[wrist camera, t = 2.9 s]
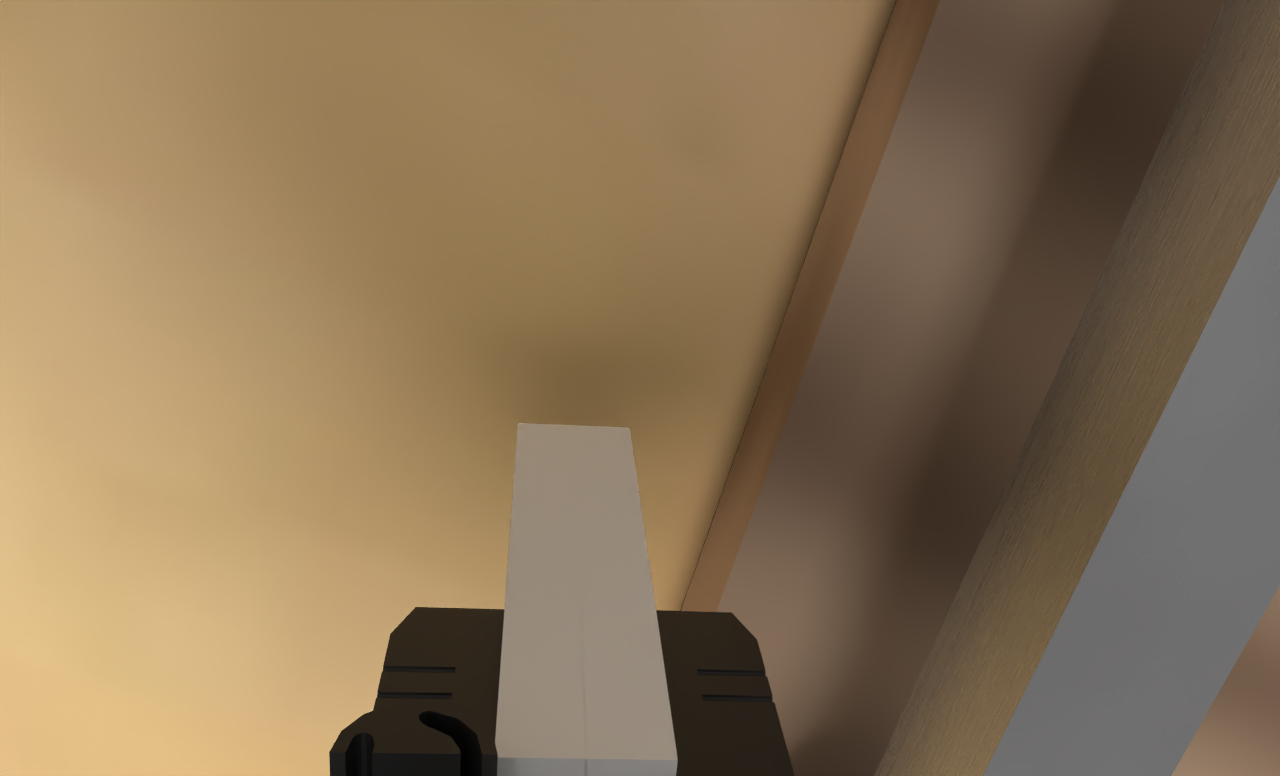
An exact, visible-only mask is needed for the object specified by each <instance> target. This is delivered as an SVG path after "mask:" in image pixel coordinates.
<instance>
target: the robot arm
mask: <svg viewBox="0 0 1280 776" xmlns="http://www.w3.org/2000/svg"><path fill="white" fill-rule="evenodd" d="M772 698H773V695H772V692H771V688H770V684H769V681H768V677H766V670H765V666H764V663H763V659H762V655H761V652H760V648H759V645H758V641H757V639H756V638H755V637H754V636H753V635H752V634H751V633H750V631H749V630H748V629H747V628H746V627H745V626H744V625H743V624H742V623H741V622H740V621H739V620H738V619H737V618H736V617H735V615H734V614H733V613H732V612H698V611H660V610H656V606H655V599H654V592H653V585H652V578H651V571H650V564H649V557H648V550H647V543H646V536H645V529H644V522H643V516H642V509H641V502H640V495H639V488H638V481H637V474H636V467H635V460H634V453H633V446H632V439H631V432H630V427H606V426H582V425H558V424H534V423H518V427H517V441H516V455H515V469H514V483H513V497H512V511H511V525H510V539H509V553H508V567H507V581H506V595H505V609H466V608H428V607H415V609H414V610H413V611H412V612H411V613H410V614H409V615H408V616H407V617H406V618H405V619H404V620H403V621H402V622H401V623H400V624H399V626H398V627H397V628H396V629H395V630H394V631H393V632H392V633H391V634H390V639H389V643H388V648H387V652H386V656H385V661H384V665H383V672H382V674H381V679H380V683H379V688H378V695H377V698H376V701H375V705H374V710H373V711H372V712H369V713H366V714H364V715H362V716H361V717H360V718H358V719H357V720H356V721H354V722H353V723H352V724H350V725H349V726H348V727H346V728H345V729H344V730H342V731H341V733H340V735H339V736H338V738H337V740H336V742H335V743H334V745H333V747H332V749H331V751H330V752H329V753H330V776H795V775H794V771H793V768H792V764H791V760H790V757H789V753H788V750H787V746H786V742H785V739H784V735H783V731H782V728H781V724H780V721H779V717H778V713H777V710H776V706H775V702H773V699H772Z"/></svg>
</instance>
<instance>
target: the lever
mask: <svg viewBox="0 0 1280 776" xmlns="http://www.w3.org/2000/svg"><path fill="white" fill-rule="evenodd" d="M1279 586H1280V0H1224V2H1223V5H1222V7H1221V9H1220V11H1219V13H1218V16H1217V18H1216V20H1215V22H1214V25H1213V27H1212V29H1211V31H1210V33H1209V36H1208V38H1207V40H1206V42H1205V44H1204V47H1203V49H1202V51H1201V53H1200V56H1199V58H1198V60H1197V62H1196V64H1195V67H1194V69H1193V71H1192V73H1191V75H1190V78H1189V80H1188V82H1187V84H1186V86H1185V89H1184V91H1183V93H1182V95H1181V98H1180V100H1179V102H1178V104H1177V106H1176V109H1175V111H1174V113H1173V115H1172V117H1171V120H1170V122H1169V124H1168V126H1167V129H1166V131H1165V133H1164V135H1163V137H1162V140H1161V142H1160V144H1159V146H1158V148H1157V151H1156V153H1155V155H1154V157H1153V160H1152V162H1151V164H1150V166H1149V168H1148V171H1147V173H1146V175H1145V177H1144V179H1143V182H1142V184H1141V186H1140V188H1139V190H1138V193H1137V195H1136V197H1135V199H1134V202H1133V204H1132V206H1131V208H1130V210H1129V213H1128V215H1127V217H1126V219H1125V221H1124V224H1123V226H1122V228H1121V230H1120V233H1119V235H1118V237H1117V239H1116V241H1115V244H1114V246H1113V248H1112V250H1111V252H1110V255H1109V257H1108V259H1107V261H1106V264H1105V266H1104V268H1103V270H1102V272H1101V275H1100V277H1099V279H1098V281H1097V283H1096V286H1095V288H1094V290H1093V292H1092V294H1091V297H1090V299H1089V301H1088V303H1087V306H1086V308H1085V310H1084V312H1083V314H1082V317H1081V319H1080V321H1079V323H1078V325H1077V328H1076V330H1075V332H1074V334H1073V337H1072V339H1071V341H1070V343H1069V345H1068V348H1067V350H1066V352H1065V354H1064V356H1063V359H1062V361H1061V363H1060V365H1059V368H1058V370H1057V372H1056V374H1055V376H1054V379H1053V381H1052V383H1051V385H1050V387H1049V390H1048V392H1047V394H1046V396H1045V398H1044V401H1043V403H1042V405H1041V407H1040V410H1039V412H1038V414H1037V416H1036V418H1035V421H1034V423H1033V425H1032V427H1031V429H1030V432H1029V434H1028V436H1027V438H1026V441H1025V443H1024V445H1023V447H1022V449H1021V452H1020V454H1019V456H1018V458H1017V460H1016V463H1015V465H1014V467H1013V469H1012V472H1011V474H1010V476H1009V478H1008V480H1007V483H1006V485H1005V487H1004V489H1003V491H1002V494H1001V496H1000V498H999V500H998V502H997V505H996V507H995V509H994V511H993V514H992V516H991V518H990V520H989V522H988V525H987V527H986V529H985V531H984V533H983V536H982V538H981V540H980V542H979V545H978V547H977V549H976V551H975V553H974V556H973V558H972V560H971V562H970V564H969V567H968V569H967V571H966V573H965V576H964V578H963V580H962V582H961V584H960V587H959V589H958V591H957V593H956V595H955V598H954V600H953V602H952V604H951V606H950V609H949V611H948V613H947V615H946V618H945V620H944V622H943V624H942V626H941V629H940V631H939V633H938V635H937V637H936V640H935V642H934V644H933V646H932V649H931V651H930V653H929V655H928V657H927V660H926V662H925V664H924V666H923V668H922V671H921V673H920V675H919V677H918V680H917V682H916V684H915V686H914V688H913V691H912V693H911V695H910V697H909V699H908V702H907V704H906V706H905V708H904V710H903V713H902V715H901V717H900V719H899V722H898V724H897V726H896V728H895V730H894V733H893V735H892V737H891V739H890V741H889V744H888V746H887V748H886V750H885V753H884V755H883V757H882V759H881V761H880V764H879V766H878V768H877V770H876V772H875V775H874V776H1172V774H1173V772H1174V770H1175V769H1176V767H1177V765H1178V763H1179V762H1180V760H1181V758H1182V756H1183V755H1184V753H1185V751H1186V749H1187V748H1188V746H1189V744H1190V742H1191V741H1192V739H1193V737H1194V735H1195V733H1196V732H1197V730H1198V728H1199V726H1200V725H1201V723H1202V721H1203V719H1204V718H1205V716H1206V714H1207V712H1208V711H1209V709H1210V707H1211V705H1212V704H1213V702H1214V700H1215V698H1216V697H1217V695H1218V693H1219V691H1220V690H1221V688H1222V686H1223V684H1224V682H1225V681H1226V679H1227V677H1228V675H1229V674H1230V672H1231V670H1232V668H1233V667H1234V665H1235V663H1236V661H1237V660H1238V658H1239V656H1240V654H1241V653H1242V651H1243V649H1244V647H1245V646H1246V644H1247V642H1248V640H1249V639H1250V637H1251V635H1252V633H1253V631H1254V630H1255V628H1256V626H1257V624H1258V623H1259V621H1260V619H1261V617H1262V616H1263V614H1264V612H1265V610H1266V609H1267V607H1268V605H1269V603H1270V602H1271V600H1272V598H1273V596H1274V595H1275V593H1276V591H1277V589H1278V588H1279Z"/></svg>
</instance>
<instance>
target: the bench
mask: <svg viewBox="0 0 1280 776" xmlns="http://www.w3.org/2000/svg"><path fill="white" fill-rule="evenodd" d="M1223 2H1224V0H896V3H895V6H894V9H893V11H892V14H891V17H890V20H889V23H888V26H887V28H886V31H885V34H884V37H883V40H882V43H881V45H880V48H879V51H878V54H877V57H876V60H875V62H874V65H873V68H872V71H871V74H870V77H869V79H868V82H867V85H866V88H865V91H864V94H863V96H862V99H861V102H860V105H859V108H858V111H857V113H856V116H855V119H854V122H853V125H852V128H851V130H850V133H849V136H848V139H847V142H846V145H845V147H844V150H843V153H842V156H841V159H840V162H839V164H838V167H837V170H836V173H835V176H834V179H833V181H832V184H831V187H830V190H829V193H828V196H827V198H826V201H825V204H824V207H823V210H822V212H821V215H820V218H819V221H818V224H817V227H816V229H815V232H814V235H813V238H812V241H811V244H810V246H809V249H808V252H807V255H806V258H805V261H804V263H803V266H802V269H801V272H800V275H799V278H798V280H797V283H796V286H795V289H794V292H793V295H792V297H791V300H790V303H789V306H788V309H787V312H786V314H785V317H784V320H783V323H782V326H781V329H780V331H779V334H778V337H777V340H776V343H775V346H774V348H773V351H772V354H771V357H770V360H769V363H768V365H767V368H766V371H765V374H764V377H763V380H762V382H761V385H760V388H759V391H758V394H757V397H756V399H755V402H754V405H753V408H752V411H751V413H750V416H749V419H748V422H747V425H746V428H745V430H744V433H743V436H742V439H741V442H740V445H739V447H738V450H737V453H736V456H735V459H734V462H733V464H732V467H731V470H730V473H729V476H728V479H727V481H726V484H725V487H724V490H723V493H722V496H721V498H720V501H719V504H718V507H717V510H716V513H715V515H714V518H713V521H712V524H711V527H710V530H709V532H708V535H707V538H706V541H705V544H704V547H703V549H702V552H701V555H700V558H699V561H698V564H697V566H696V569H695V572H694V575H693V578H692V581H691V583H690V586H689V589H688V592H687V595H686V598H685V600H684V603H683V606H682V609H681V611H698V612H732V613H733V614H734V615H735V617H736V618H737V619H738V620H739V621H740V622H741V623H742V624H743V625H744V626H745V627H746V628H747V629H748V630H749V631H750V633H751V634H752V635H753V636H754V637H755V638H756V639H757V641H758V645H759V648H760V652H761V655H762V659H763V663H764V666H765V670H766V677H768V681H769V684H770V688H771V692H772V695H773V698H772V699H773V702H775V706H776V710H777V713H778V717H779V721H780V724H781V728H782V731H783V735H784V739H785V742H786V746H787V750H788V753H789V757H790V760H791V764H792V768H793V771H794V775H795V776H874V775H875V772H876V770H877V768H878V766H879V764H880V761H881V759H882V757H883V755H884V753H885V750H886V748H887V746H888V744H889V741H890V739H891V737H892V735H893V733H894V730H895V728H896V726H897V724H898V722H899V719H900V717H901V715H902V713H903V710H904V708H905V706H906V704H907V702H908V699H909V697H910V695H911V693H912V691H913V688H914V686H915V684H916V682H917V680H918V677H919V675H920V673H921V671H922V668H923V666H924V664H925V662H926V660H927V657H928V655H929V653H930V651H931V649H932V646H933V644H934V642H935V640H936V637H937V635H938V633H939V631H940V629H941V626H942V624H943V622H944V620H945V618H946V615H947V613H948V611H949V609H950V606H951V604H952V602H953V600H954V598H955V595H956V593H957V591H958V589H959V587H960V584H961V582H962V580H963V578H964V576H965V573H966V571H967V569H968V567H969V564H970V562H971V560H972V558H973V556H974V553H975V551H976V549H977V547H978V545H979V542H980V540H981V538H982V536H983V533H984V531H985V529H986V527H987V525H988V522H989V520H990V518H991V516H992V514H993V511H994V509H995V507H996V505H997V502H998V500H999V498H1000V496H1001V494H1002V491H1003V489H1004V487H1005V485H1006V483H1007V480H1008V478H1009V476H1010V474H1011V472H1012V469H1013V467H1014V465H1015V463H1016V460H1017V458H1018V456H1019V454H1020V452H1021V449H1022V447H1023V445H1024V443H1025V441H1026V438H1027V436H1028V434H1029V432H1030V429H1031V427H1032V425H1033V423H1034V421H1035V418H1036V416H1037V414H1038V412H1039V410H1040V407H1041V405H1042V403H1043V401H1044V398H1045V396H1046V394H1047V392H1048V390H1049V387H1050V385H1051V383H1052V381H1053V379H1054V376H1055V374H1056V372H1057V370H1058V368H1059V365H1060V363H1061V361H1062V359H1063V356H1064V354H1065V352H1066V350H1067V348H1068V345H1069V343H1070V341H1071V339H1072V337H1073V334H1074V332H1075V330H1076V328H1077V325H1078V323H1079V321H1080V319H1081V317H1082V314H1083V312H1084V310H1085V308H1086V306H1087V303H1088V301H1089V299H1090V297H1091V294H1092V292H1093V290H1094V288H1095V286H1096V283H1097V281H1098V279H1099V277H1100V275H1101V272H1102V270H1103V268H1104V266H1105V264H1106V261H1107V259H1108V257H1109V255H1110V252H1111V250H1112V248H1113V246H1114V244H1115V241H1116V239H1117V237H1118V235H1119V233H1120V230H1121V228H1122V226H1123V224H1124V221H1125V219H1126V217H1127V215H1128V213H1129V210H1130V208H1131V206H1132V204H1133V202H1134V199H1135V197H1136V195H1137V193H1138V190H1139V188H1140V186H1141V184H1142V182H1143V179H1144V177H1145V175H1146V173H1147V171H1148V168H1149V166H1150V164H1151V162H1152V160H1153V157H1154V155H1155V153H1156V151H1157V148H1158V146H1159V144H1160V142H1161V140H1162V137H1163V135H1164V133H1165V131H1166V129H1167V126H1168V124H1169V122H1170V120H1171V117H1172V115H1173V113H1174V111H1175V109H1176V106H1177V104H1178V102H1179V100H1180V98H1181V95H1182V93H1183V91H1184V89H1185V86H1186V84H1187V82H1188V80H1189V78H1190V75H1191V73H1192V71H1193V69H1194V67H1195V64H1196V62H1197V60H1198V58H1199V56H1200V53H1201V51H1202V49H1203V47H1204V44H1205V42H1206V40H1207V38H1208V36H1209V33H1210V31H1211V29H1212V27H1213V25H1214V22H1215V20H1216V18H1217V16H1218V13H1219V11H1220V9H1221V7H1222V5H1223ZM1172 776H1280V586H1279V588H1278V589H1277V591H1276V593H1275V595H1274V596H1273V598H1272V600H1271V602H1270V603H1269V605H1268V607H1267V609H1266V610H1265V612H1264V614H1263V616H1262V617H1261V619H1260V621H1259V623H1258V624H1257V626H1256V628H1255V630H1254V631H1253V633H1252V635H1251V637H1250V639H1249V640H1248V642H1247V644H1246V646H1245V647H1244V649H1243V651H1242V653H1241V654H1240V656H1239V658H1238V660H1237V661H1236V663H1235V665H1234V667H1233V668H1232V670H1231V672H1230V674H1229V675H1228V677H1227V679H1226V681H1225V682H1224V684H1223V686H1222V688H1221V690H1220V691H1219V693H1218V695H1217V697H1216V698H1215V700H1214V702H1213V704H1212V705H1211V707H1210V709H1209V711H1208V712H1207V714H1206V716H1205V718H1204V719H1203V721H1202V723H1201V725H1200V726H1199V728H1198V730H1197V732H1196V733H1195V735H1194V737H1193V739H1192V741H1191V742H1190V744H1189V746H1188V748H1187V749H1186V751H1185V753H1184V755H1183V756H1182V758H1181V760H1180V762H1179V763H1178V765H1177V767H1176V769H1175V770H1174V772H1173V774H1172Z"/></svg>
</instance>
